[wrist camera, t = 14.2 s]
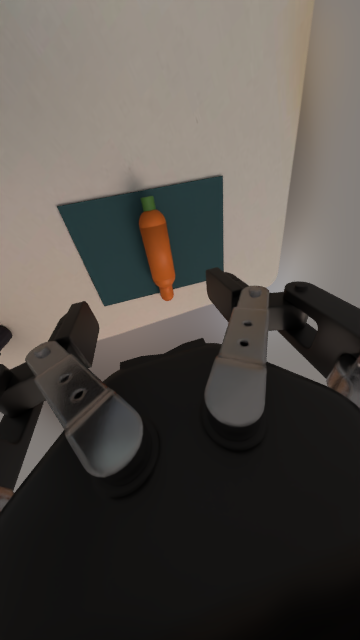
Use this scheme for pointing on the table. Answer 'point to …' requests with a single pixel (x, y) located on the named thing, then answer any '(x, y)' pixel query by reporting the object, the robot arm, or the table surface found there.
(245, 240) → the table surface
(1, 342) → the two-way radio
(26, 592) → the robot arm
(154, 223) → the carrot
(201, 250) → the cloth
